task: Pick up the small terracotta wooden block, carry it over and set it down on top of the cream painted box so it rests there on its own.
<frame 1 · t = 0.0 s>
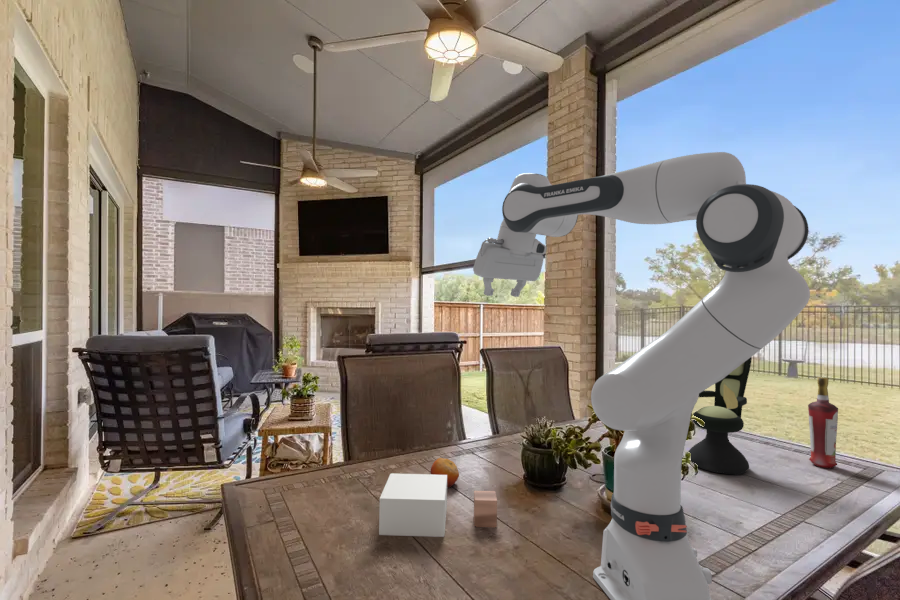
hand: (501, 295, 109), 52 cm above the table, tool tilted 20°, fingers open, 8 cm apart
liquor: (823, 466, 138), on the table
crowned throne chair: (719, 465, 138), on the table
cream box: (415, 520, 100), on the table
fruit: (444, 485, 119), on the table
terracotta block: (484, 521, 99), on the table
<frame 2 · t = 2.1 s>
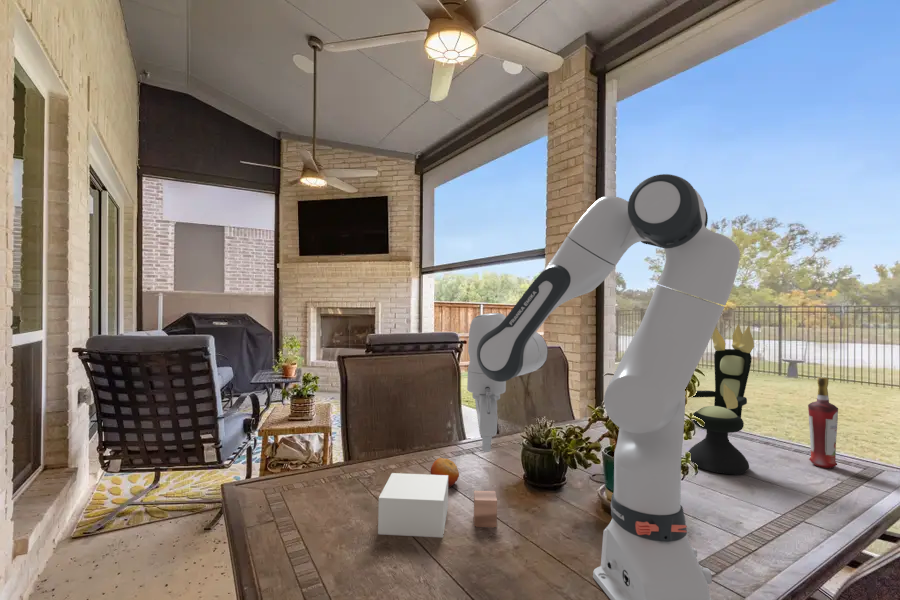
hand: (485, 443, 100), 18 cm above the table, tool pointing down, fingers open, 8 cm apart
nothing on the table moved.
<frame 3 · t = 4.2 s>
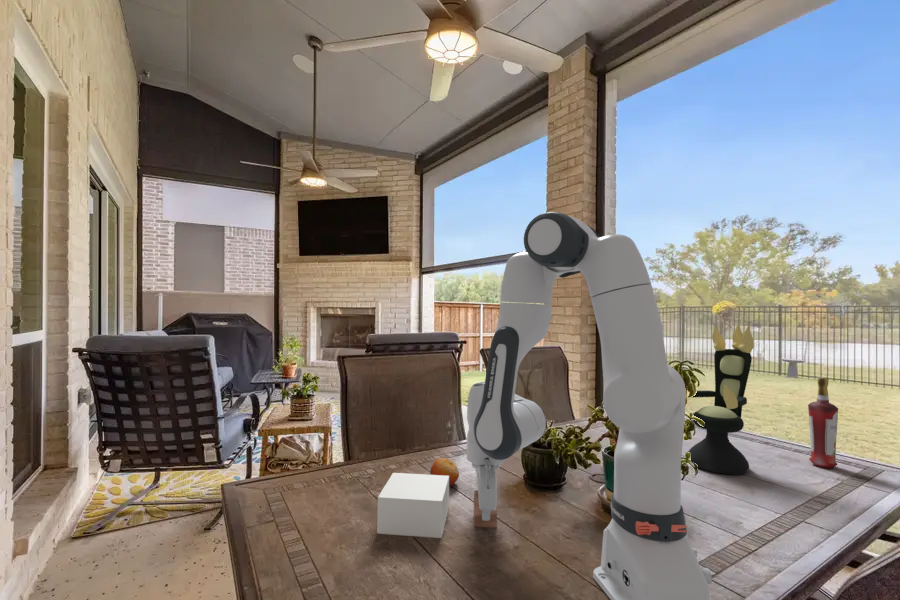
hand: (485, 512, 99), 2 cm above the table, tool pointing down, fingers closed on terracotta block, 5 cm apart
terracotta block: (484, 521, 99), on the table, touching gripper
everything else where it was.
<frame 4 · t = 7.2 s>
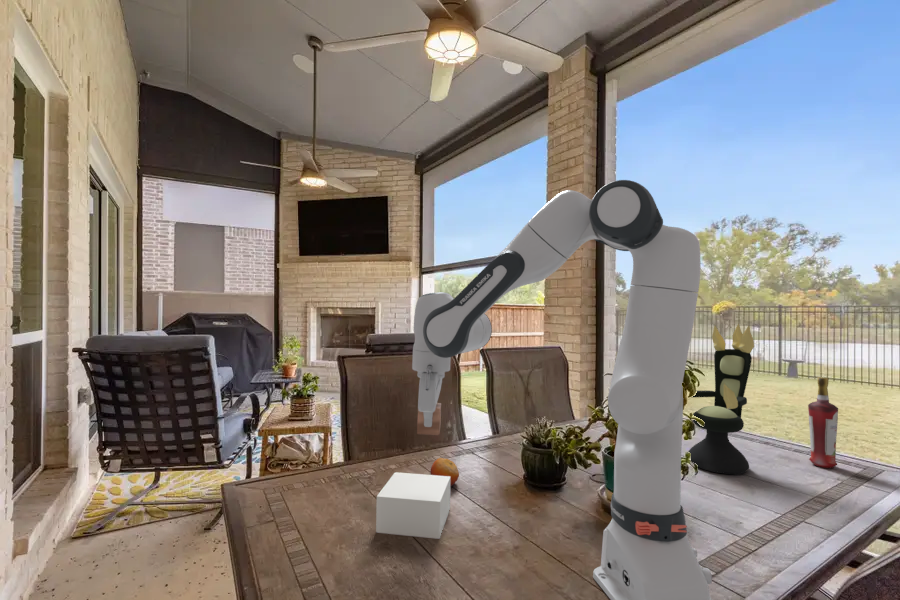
hand: (429, 422, 100), 22 cm above the table, tool pointing down, fingers closed on terracotta block, 5 cm apart
terracotta block: (428, 431, 100), point 20 cm above the table, touching gripper
everything else where it was.
when the fingers open (12 cm above the table, at t = 10.1 s): terracotta block drops 2 cm, resting on cream box.
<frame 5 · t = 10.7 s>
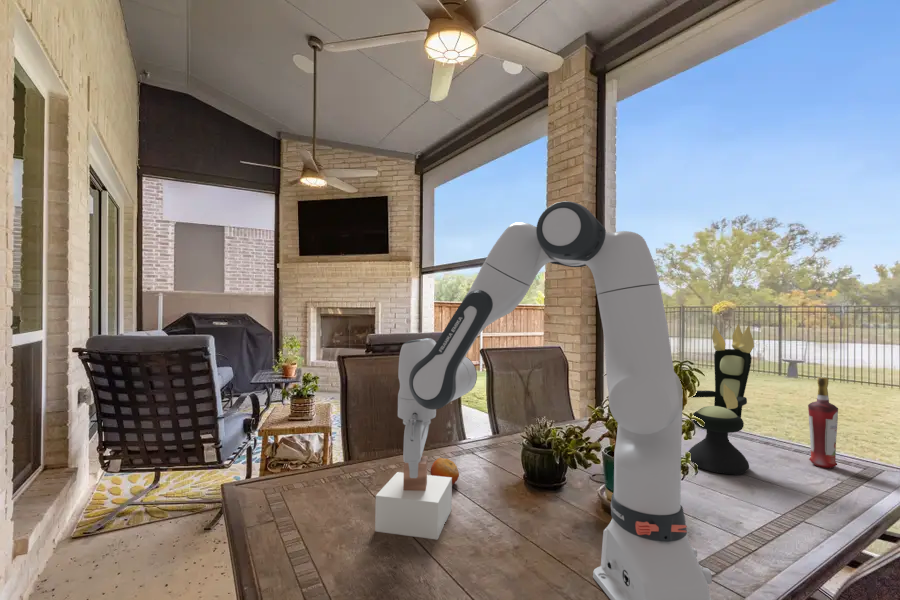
hand: (416, 468, 100), 12 cm above the table, tool pointing down, fingers open, 8 cm apart
cream box: (415, 521, 100), on the table, touching terracotta block
terracotta block: (415, 485, 100), point 8 cm above the table, touching cream box
everything else where it was.
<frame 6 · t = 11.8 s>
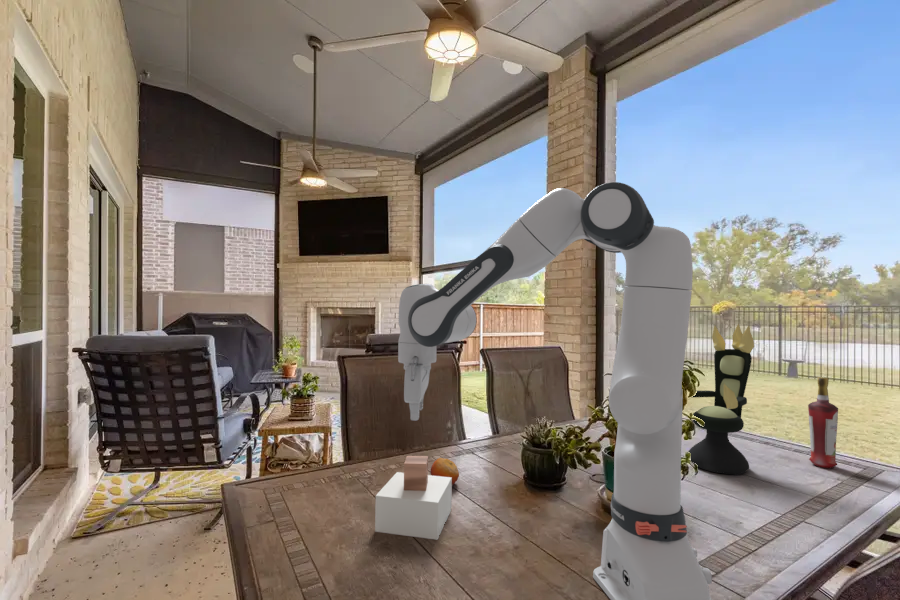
hand: (417, 414, 100), 24 cm above the table, tool pointing down, fingers open, 8 cm apart
cream box: (415, 521, 100), on the table
terracotta block: (416, 485, 100), point 8 cm above the table
everything else where it was.
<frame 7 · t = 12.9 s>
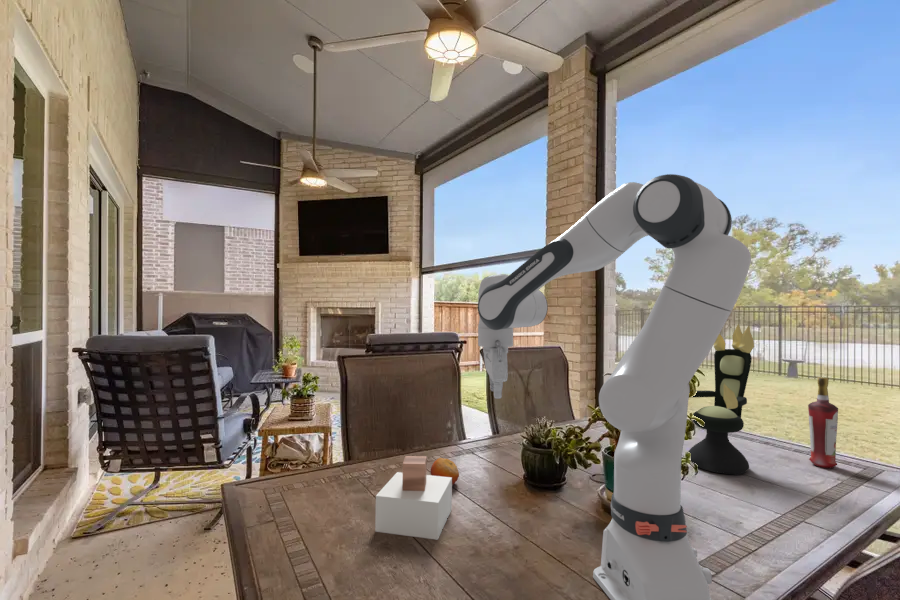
hand: (495, 394, 109), 27 cm above the table, tool pointing down, fingers open, 8 cm apart
nothing on the table moved.
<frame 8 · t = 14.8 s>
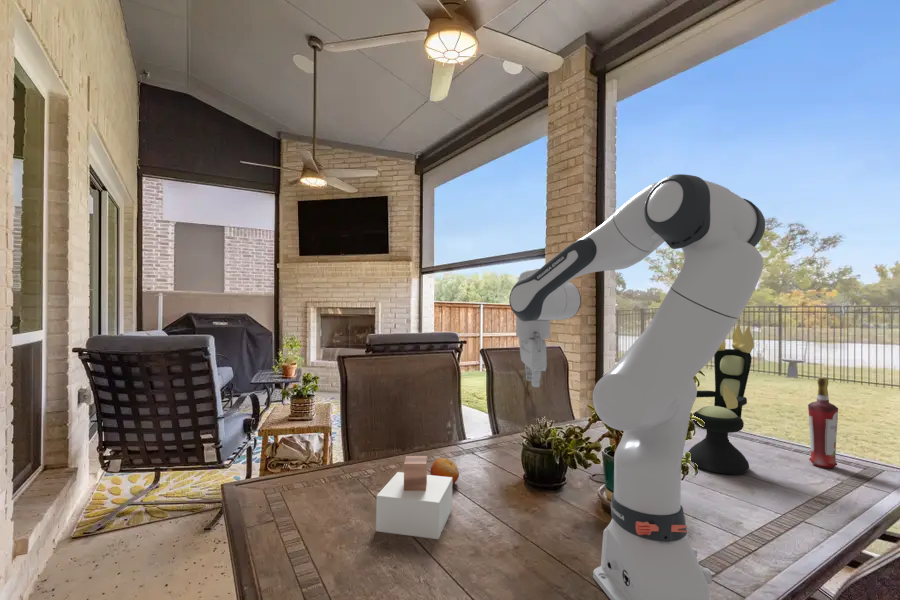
hand: (532, 383, 114), 29 cm above the table, tool pointing down, fingers open, 8 cm apart
cream box: (416, 520, 100), on the table, touching terracotta block
terracotta block: (415, 486, 100), point 8 cm above the table, touching cream box
everything else where it was.
at the end: terracotta block inside the target area on the cream box (0.3 cm from its centre), point 8.0 cm above the cream box's base; terracotta block tilted 0°; the gripper is holding nothing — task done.
